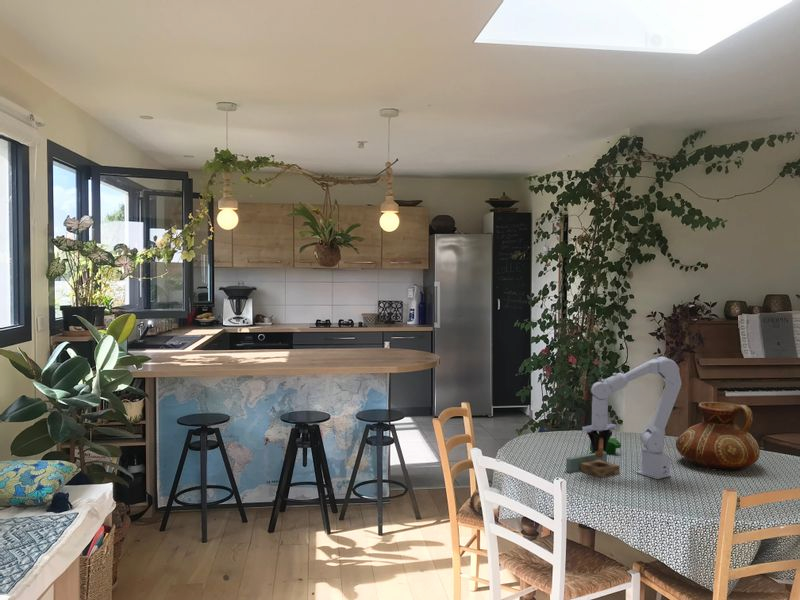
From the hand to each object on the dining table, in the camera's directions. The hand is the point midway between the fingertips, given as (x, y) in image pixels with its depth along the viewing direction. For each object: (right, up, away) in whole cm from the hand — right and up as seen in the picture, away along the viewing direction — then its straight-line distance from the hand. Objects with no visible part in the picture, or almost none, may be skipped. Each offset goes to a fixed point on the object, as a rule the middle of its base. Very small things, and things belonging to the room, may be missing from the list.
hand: (599, 450), depth 247 cm
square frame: (0, -8, 0) cm, 8 cm away
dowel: (0, -2, 0) cm, 2 cm away
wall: (-3, -8, +5) cm, 10 cm away
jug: (+50, -9, +12) cm, 52 cm away
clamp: (+11, -8, +27) cm, 30 cm away
